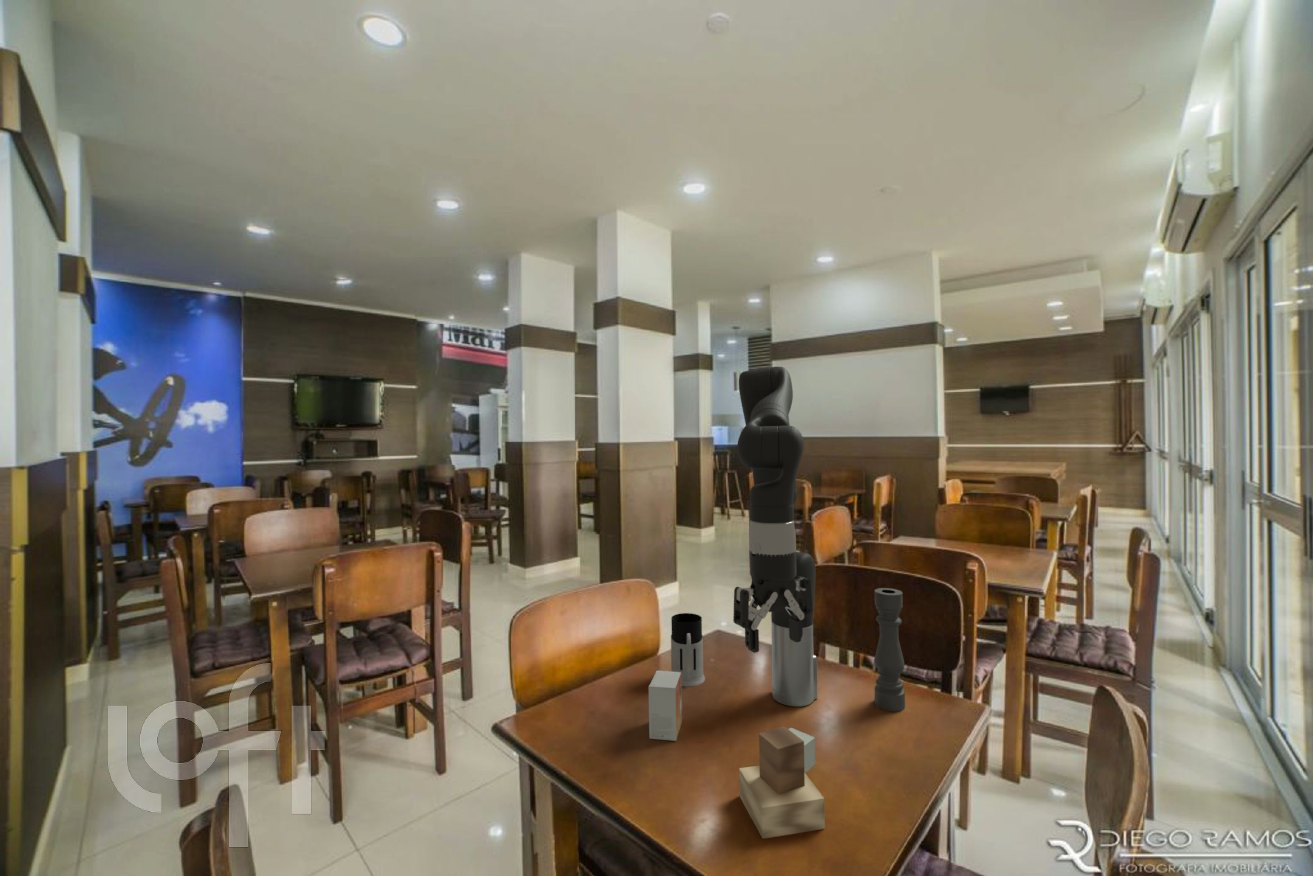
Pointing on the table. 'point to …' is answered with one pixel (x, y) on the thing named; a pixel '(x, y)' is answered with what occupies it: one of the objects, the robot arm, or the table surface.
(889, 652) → the candle holder
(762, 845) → the table surface
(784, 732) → the walnut block
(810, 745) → the grey cube
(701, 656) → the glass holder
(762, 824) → the oak block
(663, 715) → the small box
